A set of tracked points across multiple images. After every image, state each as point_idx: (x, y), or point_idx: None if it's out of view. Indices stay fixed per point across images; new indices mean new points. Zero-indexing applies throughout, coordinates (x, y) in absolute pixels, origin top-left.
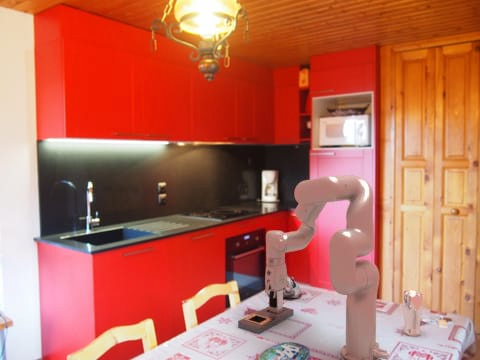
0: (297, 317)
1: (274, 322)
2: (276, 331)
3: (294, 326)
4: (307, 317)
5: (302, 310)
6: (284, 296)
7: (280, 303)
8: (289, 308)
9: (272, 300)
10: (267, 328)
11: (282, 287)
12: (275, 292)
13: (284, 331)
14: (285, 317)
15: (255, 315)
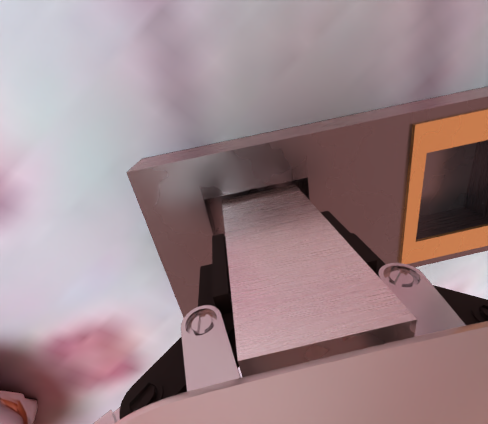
0: (126, 129)
1: (390, 112)
2: (417, 49)
3: (267, 16)
4: (51, 73)
5: (4, 199)
6: (1, 391)
7: (269, 225)
8: (143, 206)
9: (379, 264)
10: (459, 95)
11: (323, 388)
12: (417, 326)
13: (387, 4)
14: (247, 140)
15: (421, 243)
